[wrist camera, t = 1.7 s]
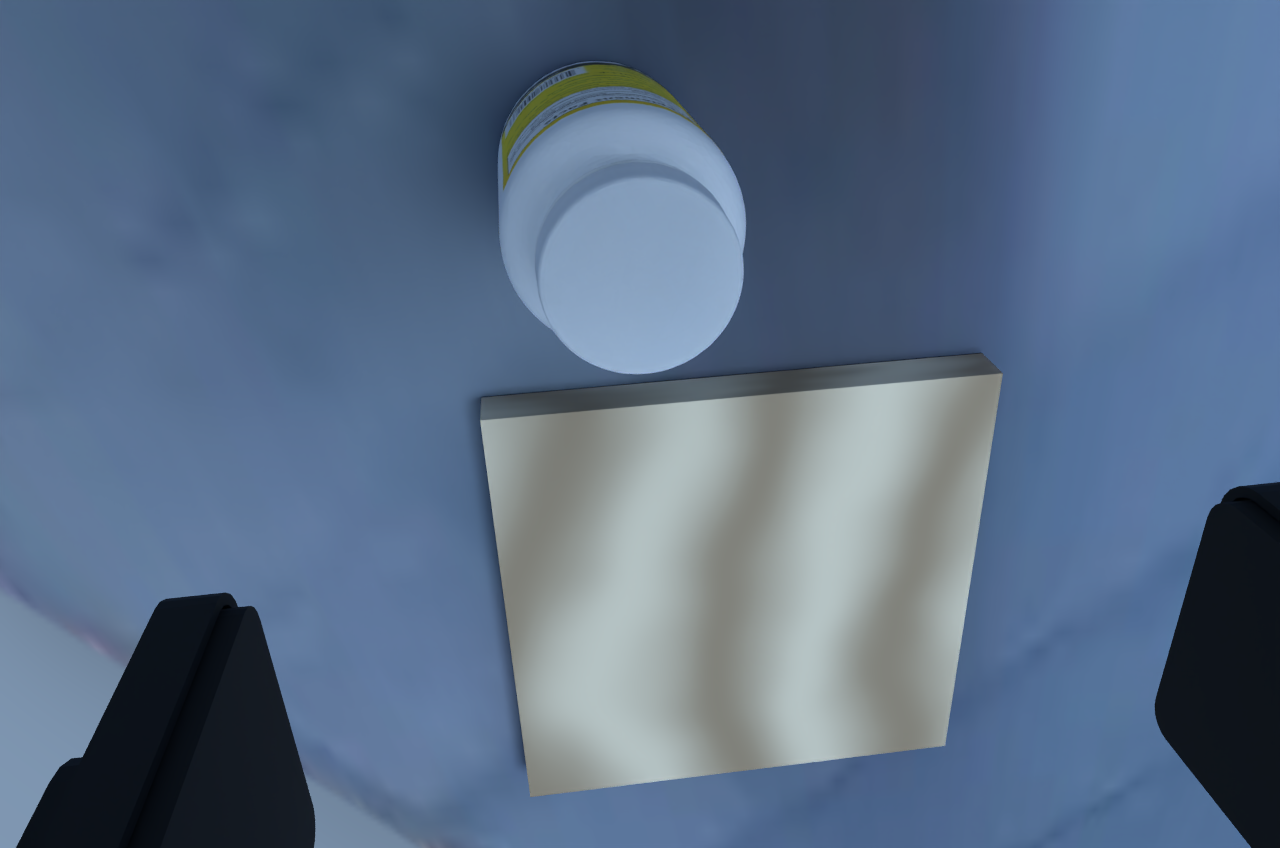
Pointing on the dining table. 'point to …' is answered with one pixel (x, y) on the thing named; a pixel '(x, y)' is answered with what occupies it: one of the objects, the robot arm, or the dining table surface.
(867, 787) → the dining table surface
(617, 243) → the supplement bottle
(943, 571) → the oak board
